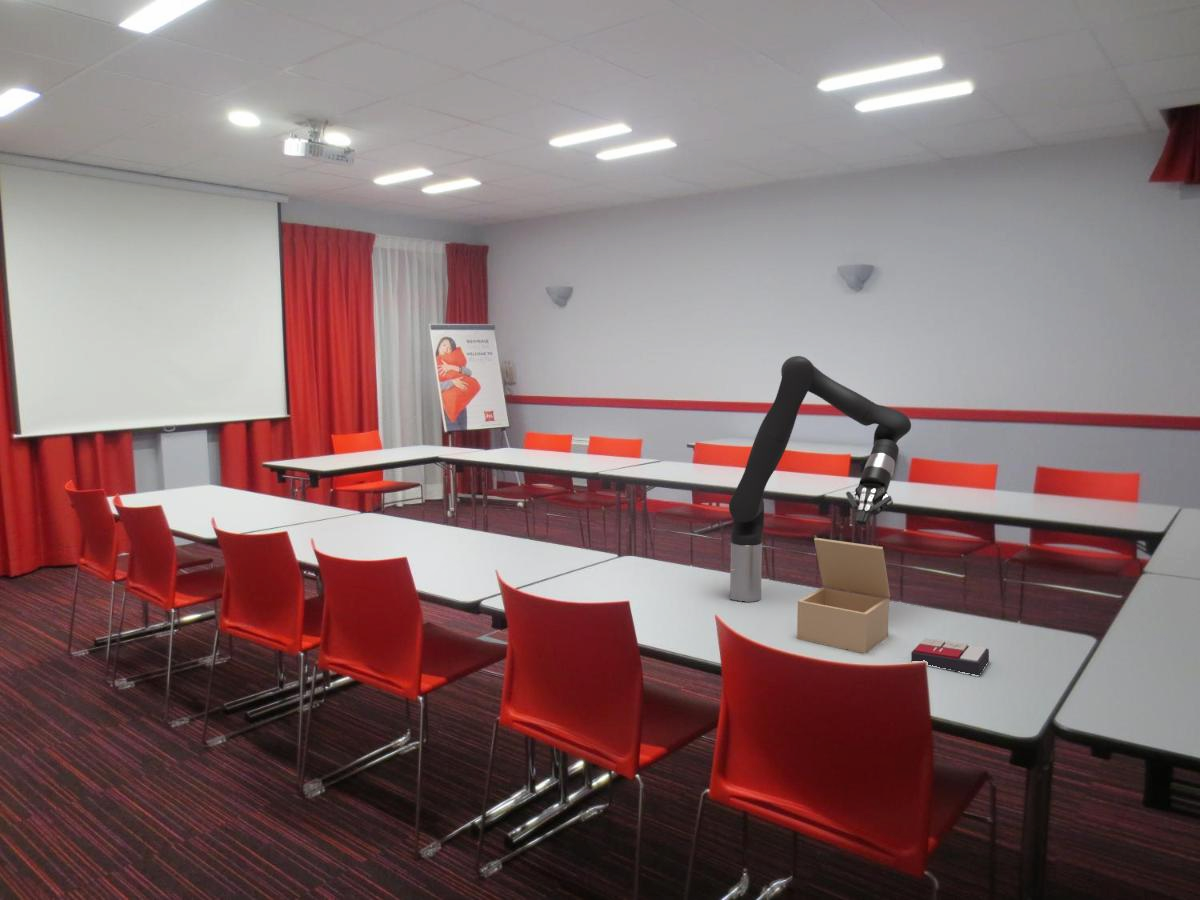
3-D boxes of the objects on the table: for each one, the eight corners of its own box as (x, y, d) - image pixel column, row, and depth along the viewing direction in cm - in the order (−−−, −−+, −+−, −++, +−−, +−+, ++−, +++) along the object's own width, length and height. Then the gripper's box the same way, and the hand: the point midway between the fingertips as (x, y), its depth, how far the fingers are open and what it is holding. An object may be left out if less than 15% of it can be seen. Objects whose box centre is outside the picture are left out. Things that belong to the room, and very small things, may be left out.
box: (822, 622, 221) (823, 587, 220) (887, 636, 210) (889, 598, 209) (797, 638, 209) (797, 601, 208) (865, 653, 198) (866, 614, 196)
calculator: (923, 636, 200) (989, 645, 191) (923, 653, 201) (989, 663, 192) (910, 649, 192) (978, 659, 183) (911, 666, 192) (979, 678, 183)
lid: (823, 586, 220) (824, 584, 221) (889, 598, 209) (890, 596, 209) (814, 539, 213) (815, 537, 214) (881, 548, 202) (882, 547, 203)
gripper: (850, 463, 224) (832, 513, 216) (899, 466, 216) (882, 519, 208) (857, 479, 229) (839, 529, 221) (904, 483, 221) (888, 535, 212)
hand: (860, 524), depth 214 cm, fingers closed
